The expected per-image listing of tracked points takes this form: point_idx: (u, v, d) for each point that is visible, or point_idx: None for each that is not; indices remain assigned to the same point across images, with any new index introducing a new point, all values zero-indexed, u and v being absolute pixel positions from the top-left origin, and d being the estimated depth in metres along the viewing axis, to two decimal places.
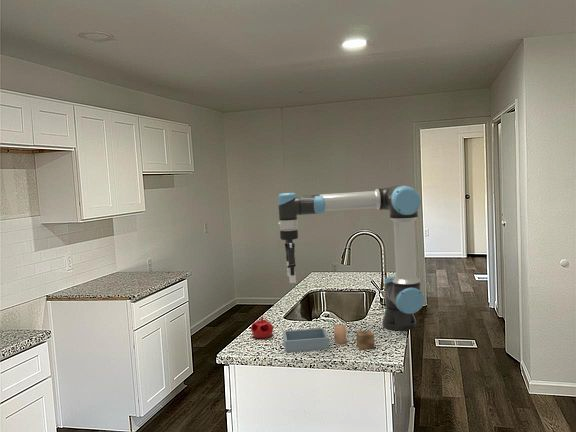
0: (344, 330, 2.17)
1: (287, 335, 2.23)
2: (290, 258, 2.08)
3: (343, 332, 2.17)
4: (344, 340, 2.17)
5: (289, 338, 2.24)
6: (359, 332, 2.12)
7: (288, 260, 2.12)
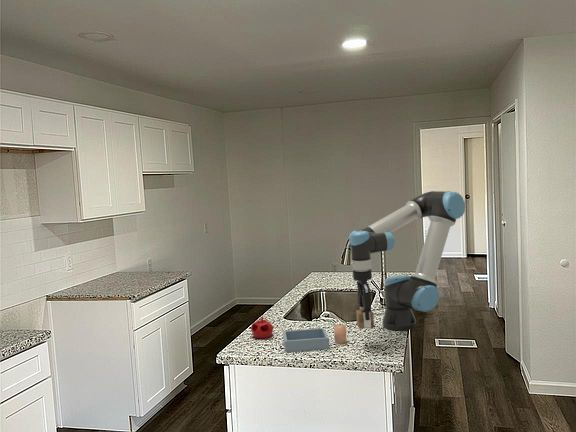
0: (344, 330, 2.17)
1: (287, 335, 2.23)
2: (366, 304, 2.04)
3: (343, 332, 2.17)
4: (344, 340, 2.17)
5: (289, 338, 2.24)
6: (359, 311, 2.12)
7: (362, 303, 2.07)
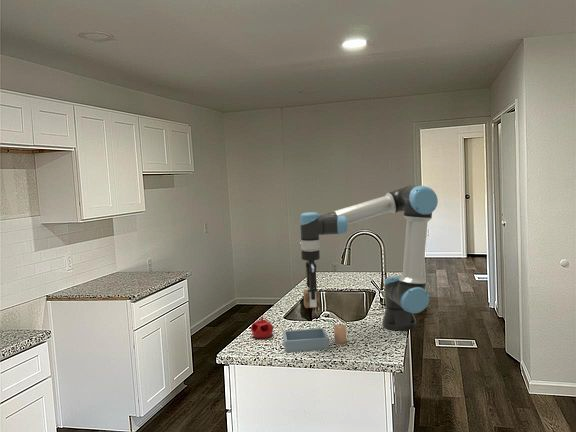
0: (344, 330, 2.17)
1: (287, 335, 2.23)
2: (312, 283, 2.07)
3: (343, 332, 2.17)
4: (344, 340, 2.17)
5: (289, 338, 2.24)
6: (306, 291, 2.15)
7: (309, 283, 2.10)
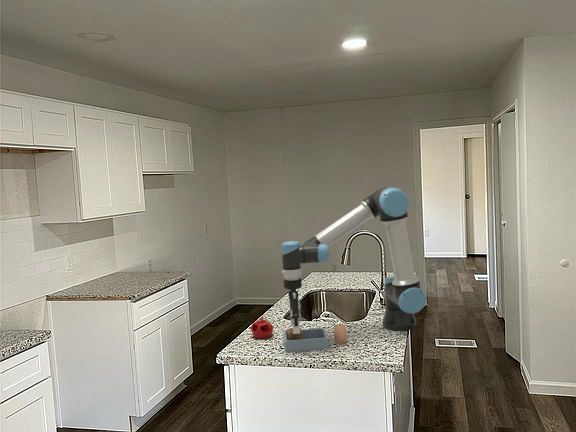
0: (344, 330, 2.17)
1: None
2: (294, 309, 2.08)
3: (343, 332, 2.17)
4: (344, 340, 2.17)
5: None
6: (289, 330, 2.18)
7: (292, 310, 2.11)
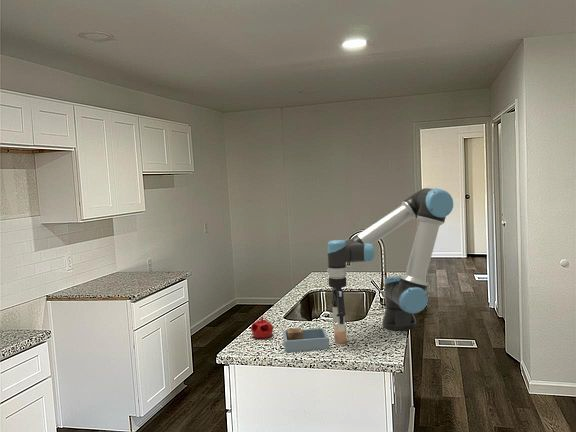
0: None
1: None
2: (340, 307, 2.09)
3: (343, 332, 2.17)
4: (344, 340, 2.17)
5: None
6: (289, 330, 2.18)
7: (337, 308, 2.12)
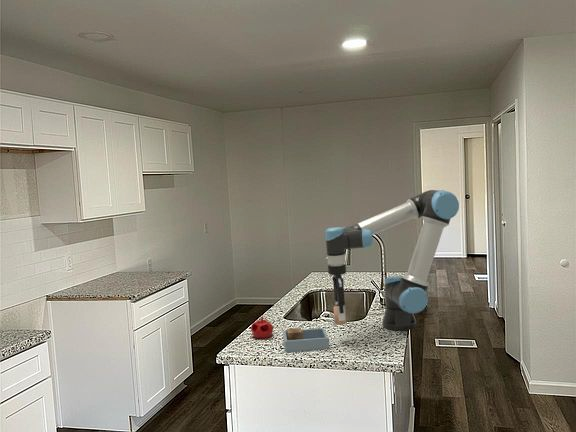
0: None
1: None
2: (340, 297, 2.11)
3: None
4: (344, 320, 2.16)
5: None
6: (289, 330, 2.18)
7: (337, 297, 2.15)
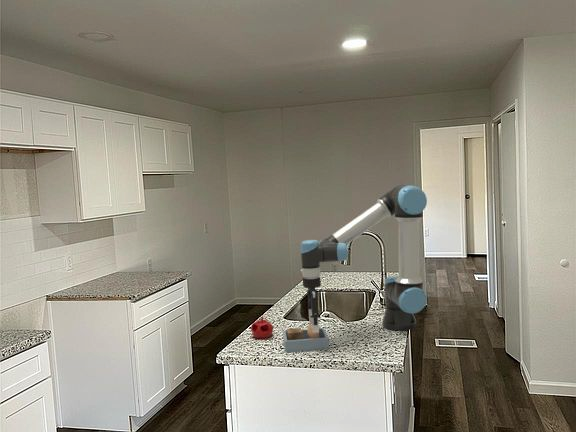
0: None
1: None
2: (313, 308, 2.09)
3: None
4: None
5: None
6: (289, 330, 2.18)
7: (311, 309, 2.12)
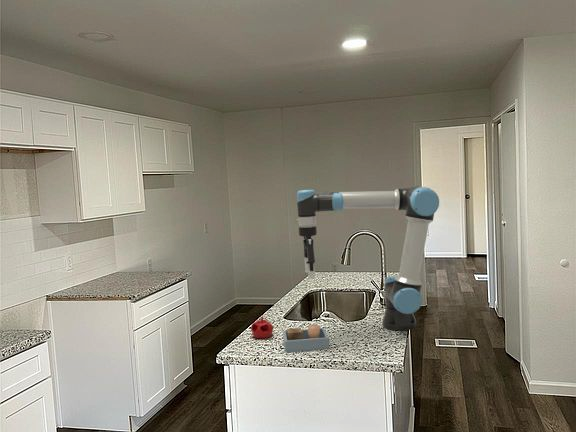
0: (317, 331, 2.16)
1: None
2: (309, 254, 2.11)
3: (316, 332, 2.16)
4: None
5: None
6: (289, 330, 2.18)
7: (307, 256, 2.14)
